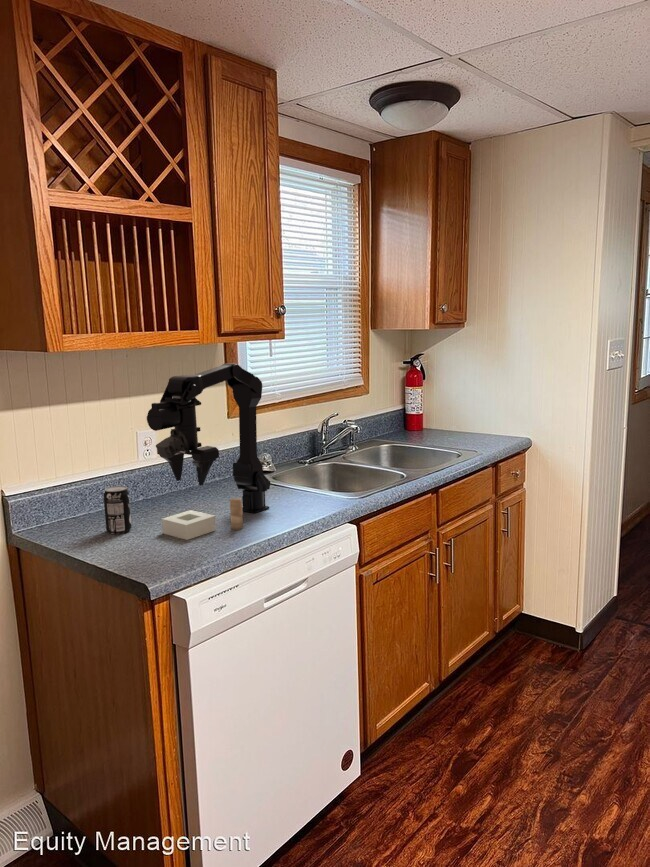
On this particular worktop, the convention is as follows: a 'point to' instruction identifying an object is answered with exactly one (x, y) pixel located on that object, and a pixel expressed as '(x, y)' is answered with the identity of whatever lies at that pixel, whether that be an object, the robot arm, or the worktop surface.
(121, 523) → the beverage can
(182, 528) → the socket
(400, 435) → the worktop surface
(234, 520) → the peg
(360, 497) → the worktop surface
